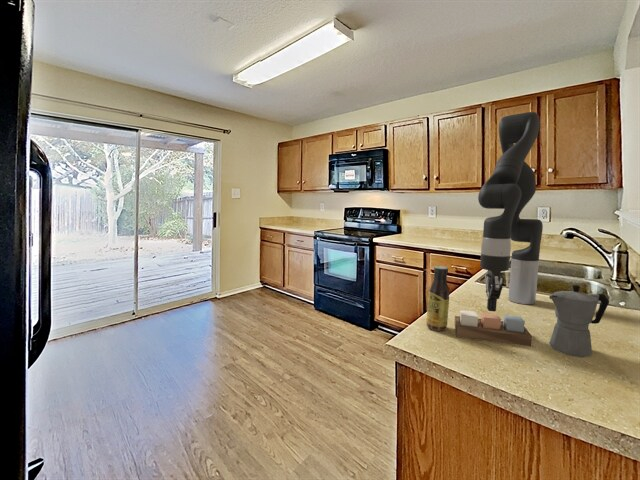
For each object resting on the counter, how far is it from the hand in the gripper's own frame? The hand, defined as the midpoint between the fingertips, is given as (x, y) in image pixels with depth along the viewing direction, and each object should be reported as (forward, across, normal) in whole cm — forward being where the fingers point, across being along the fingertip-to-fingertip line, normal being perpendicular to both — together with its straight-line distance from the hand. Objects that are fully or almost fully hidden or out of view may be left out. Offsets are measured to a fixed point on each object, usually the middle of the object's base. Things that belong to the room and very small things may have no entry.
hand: (491, 310), depth 94 cm
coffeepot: (+8, -3, -20) cm, 22 cm away
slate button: (+6, 0, -6) cm, 8 cm away
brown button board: (+8, 0, 0) cm, 8 cm away
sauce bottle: (+8, 0, +15) cm, 17 cm away
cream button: (+6, 0, +6) cm, 8 cm away
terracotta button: (+6, 0, 0) cm, 6 cm away
